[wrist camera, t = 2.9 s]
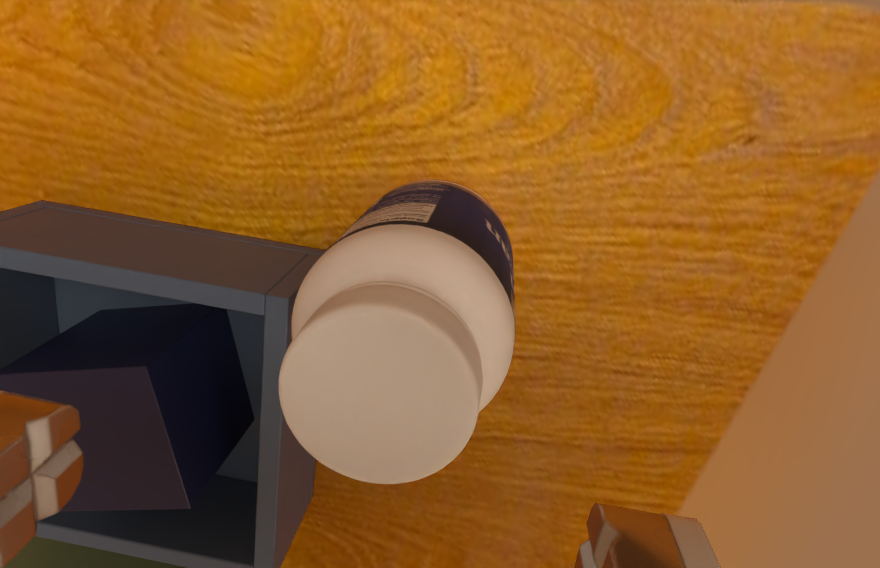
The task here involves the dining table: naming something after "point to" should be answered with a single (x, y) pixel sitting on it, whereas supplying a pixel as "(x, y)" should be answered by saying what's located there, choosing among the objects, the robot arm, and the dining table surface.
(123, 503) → the navy block
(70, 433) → the robot arm
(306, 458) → the blue bin
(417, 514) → the dining table surface
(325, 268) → the pill bottle
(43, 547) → the green bin
